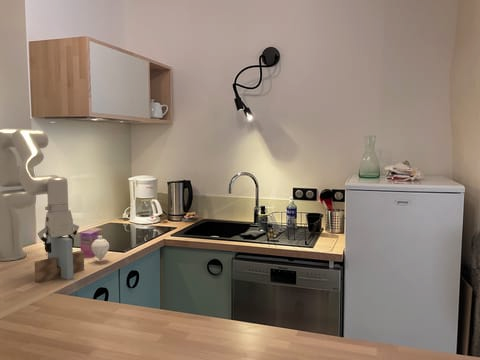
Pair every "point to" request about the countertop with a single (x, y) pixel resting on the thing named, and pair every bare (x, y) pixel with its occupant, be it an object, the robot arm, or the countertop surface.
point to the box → (89, 241)
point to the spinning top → (100, 247)
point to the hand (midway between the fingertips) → (59, 249)
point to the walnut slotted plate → (56, 267)
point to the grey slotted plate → (63, 255)
